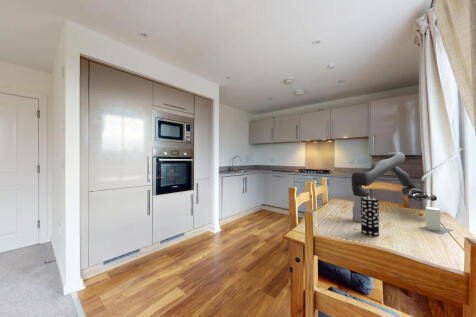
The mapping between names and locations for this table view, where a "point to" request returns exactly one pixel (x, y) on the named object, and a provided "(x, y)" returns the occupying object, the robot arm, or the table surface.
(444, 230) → the mat
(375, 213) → the spotted tube
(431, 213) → the sage block
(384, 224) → the table surface
